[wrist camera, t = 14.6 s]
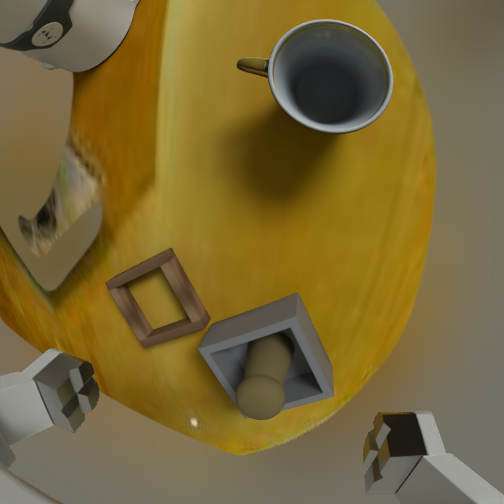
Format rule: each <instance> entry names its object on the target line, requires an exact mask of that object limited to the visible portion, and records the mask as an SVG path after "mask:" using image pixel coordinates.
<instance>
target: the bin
mask: <svg viewBox="0 0 504 504" xmlns="http://www.w3.org/2000/svg"><path fill="white" fill-rule="evenodd" d="M278 331H280V332H282V333H284V334H285V335H287V336H288V337H289V338H290V339H291V341H292V342H293V344H294V348H295V351H294V356H293V359H292V362H291V365H290V368H289V371H288V374H287V377H286V379H285V382H284V385H283V388H284V392H285V395H286V397H285V404H284V407H283V408H282V410H286V409H290V408H294V407H297V406H301V405H305V404H309V403H312V402H316V401H319V400H323V399H326V398H329V397H333V396H334V387H333V370H332V365H331V363H330V361H329V358H328V356H327V354H326V352H325V350H324V347H323V345H322V343H321V341H320V339H319V337H318V334H317V332H316V330H315V328H314V326H313V324H312V321H311V319H310V317H309V315H308V313H307V311H306V308H305V306H304V304H303V302H302V300H301V298H300V296H299V294H298V293H295V294H292V295H290V296H287V297H285V298H282V299H279V300H277V301H274V302H271V303H269V304H266V305H263V306H261V307H258V308H255V309H253V310H250V311H247V312H244V313H242V314H239V315H236V316H233V317H230V318H228V319H225V320H222V321H219V322H216V323H213V324H212V325H211V327H210V329H209V331H208V332H207V334H206V336H205V338H204V339H203V341H202V343H201V345H200V346H199V348H198V350H199V351H200V353H201V354H202V356H203V357H204V359H205V360H206V362H207V364H208V365H209V367H210V368H211V370H212V371H213V373H214V374H215V376H216V377H217V379H218V380H219V382H220V383H221V385H222V386H223V388H224V389H225V391H226V392H227V394H228V395H229V396H230V398H231V399H232V401H233V402H234V404H235V405H236V406H237V404H236V401H235V395H236V390H237V388H238V386H239V384H240V383H241V382H242V381H243V380H244V379H245V370H246V359H247V349H248V342H249V341H252V340H255V339H258V338H261V337H264V336H267V335H270V334H273V333H276V332H278ZM237 408H238V407H237ZM238 409H239V408H238ZM282 410H281V411H282ZM239 411H240V410H239ZM240 412H241V411H240ZM241 414H242V415H243V416H244V418H250V417H247V416H246V415H244V414H243V413H242V412H241Z"/></svg>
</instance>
